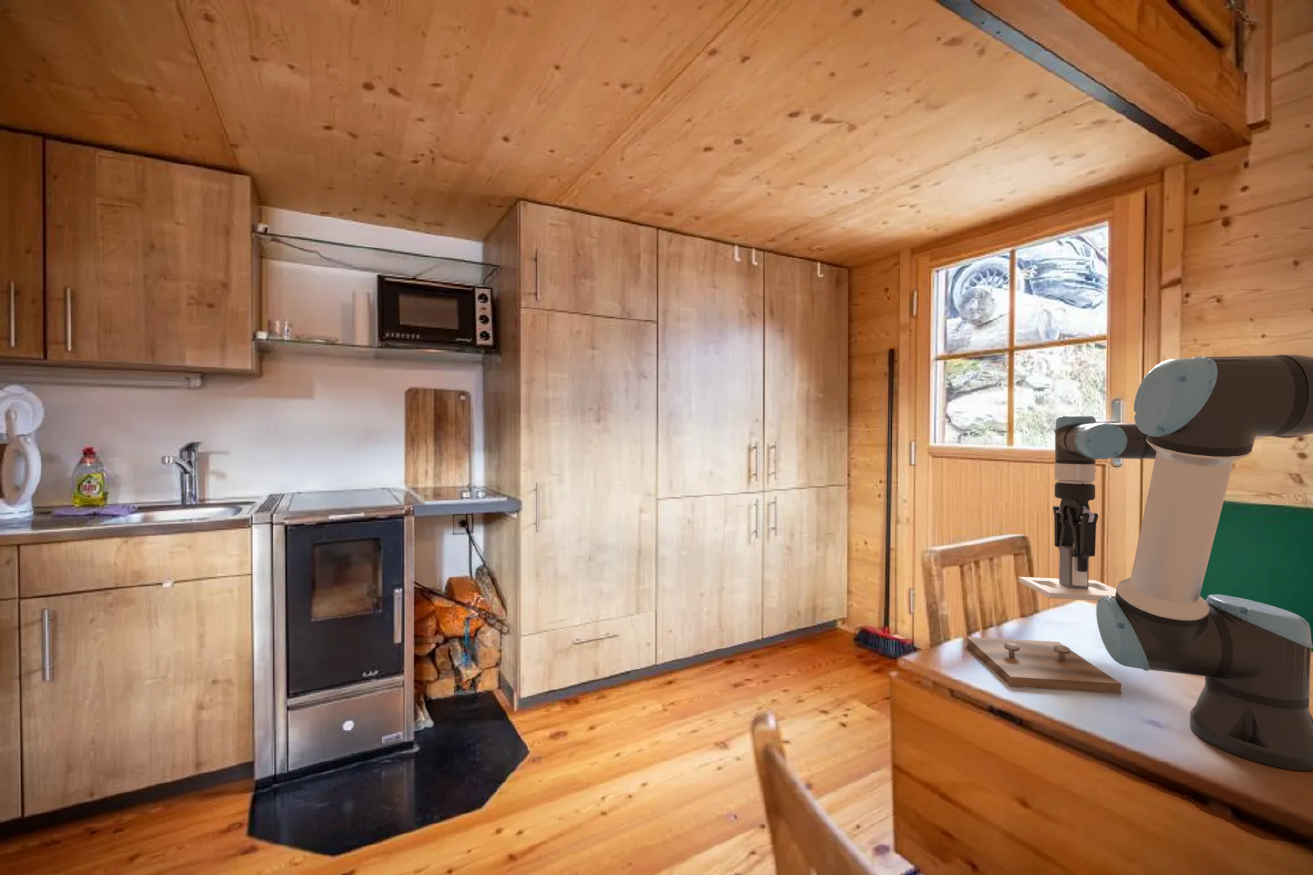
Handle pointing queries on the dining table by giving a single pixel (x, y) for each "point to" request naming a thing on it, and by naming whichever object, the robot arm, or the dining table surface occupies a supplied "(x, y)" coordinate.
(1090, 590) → the panel
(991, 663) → the board
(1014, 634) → the dining table surface
